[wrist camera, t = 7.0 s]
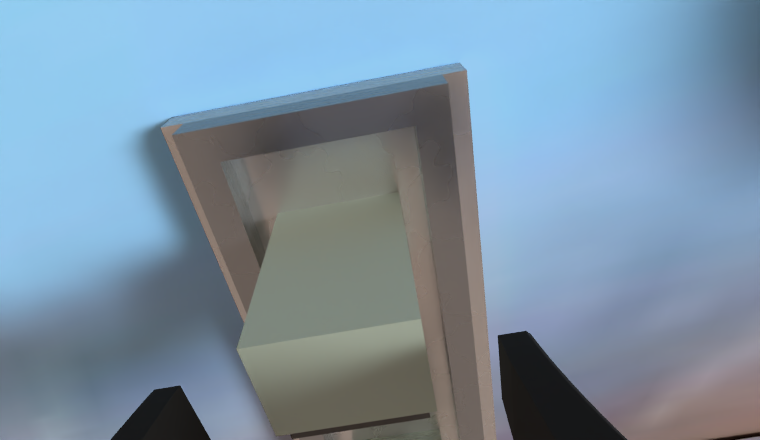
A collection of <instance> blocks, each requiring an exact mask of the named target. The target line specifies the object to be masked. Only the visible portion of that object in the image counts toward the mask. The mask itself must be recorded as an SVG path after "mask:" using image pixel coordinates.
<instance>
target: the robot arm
mask: <svg viewBox="0 0 760 440" xmlns="http://www.w3.org/2000/svg"><path fill="white" fill-rule="evenodd" d="M498 345H499V360H500V375H501V390H502V400H503V404H504V407H505V411H506V414H507V418H508V422H509V425H510V429H511V432H512V436H513V440H627V439H626V438H625V437H624V436H623V435H622V434H621V433H620V432H619V431H618V430H617V429H616V428H615V427H614V426H613V425H612V424H611V423H610V422H609V421H608V420H607V419H606V418H605V417H604V416H603V415H602V414H601V413H600V412H599V411H598V410H597V409H596V408H595V407H594V406H593V405H592V404H591V403H590V402H589V401H588V400H587V399H586V398H585V397H584V396H583V395H582V394H581V393H580V392H579V390H578V389H577V388H576V387H575V386H574V385H573V384H572V383H571V382H570V381H569V380H568V378H567V377H566V376H565V375H564V374H563V373H562V372H561V370H560V369H559V368H558V367H557V366H556V365H555V364H554V362H553V361H552V360H551V359H550V358H549V356H548V355H547V354H546V353H545V352H544V350H543V349H542V348H541V347H540V345H539V344H538V343H537V342H536V340H535V339H534V338H533V336H532V335H531V334H530V333H528V332H527V331H523V332H516V333H510V334H504V335H498ZM111 440H211V439H210V438H209V436H208V434H207V432H206V431H205V429H204V427H203V425H202V424H201V422H200V420H199V418H198V416H197V415H196V413H195V411H194V409H193V408H192V406H191V404H190V402H189V401H188V399H187V397H186V395H185V394H184V392H183V390H182V388H181V386H175V387H168V388H162V389H156V390H154V391H153V392H152V393H151V394H150V395H149V396H148V397H147V398H146V399H145V400H144V402H143V403H142V404H141V405H140V406H139V407H138V408H137V410H136V411H135V412H134V413H133V414H132V415H131V417H130V418H129V419H128V420H127V421H126V422H125V423H124V425H123V426H122V427H121V428H120V429H119V430H118V432H117V433H116V434H115V435H114V436H113V437H112V439H111ZM737 440H760V436H758V437H751V438H744V439H737Z"/></svg>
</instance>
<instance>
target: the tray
mask: <svg viewBox="0 0 760 440" xmlns="http://www.w3.org/2000/svg"><path fill="white" fill-rule="evenodd" d="M161 130H162V133H163V135H164V137H165V140H166V142H167V144H168V147H169V149H170V151H171V154H172V156H173V158H174V161H175V163H176V165H177V168H178V170H179V172H180V175H181V177H182V179H183V182H184V184H185V186H186V189H187V191H188V193H189V196H190V198H191V200H192V203H193V205H194V207H195V210H196V212H197V214H198V217H199V219H200V221H201V224H202V226H203V228H204V231H205V233H206V235H207V238H208V240H209V242H210V245H211V247H212V249H213V252H214V254H215V256H216V259H217V261H218V263H219V266H220V268H221V270H222V273H223V275H224V277H225V280H226V282H227V284H228V287H229V289H230V291H231V294H232V296H233V298H234V301H235V303H236V305H237V308H238V310H239V312H240V315H241V317H242V319H243V322H244V323H245V319H246V316H247V313H248V309H249V306H250V303H251V299H252V296H253V293H254V289H255V286H256V283H257V280H258V276H259V273H260V270H261V266H262V263H263V260H264V256H265V253H266V250H267V246H268V243H269V240H270V236H271V233H272V230H273V227H274V223H275V220H276V217H277V214H278V213H283V212H289V211H295V210H300V209H306V208H311V207H317V206H323V205H328V204H334V203H339V202H345V201H350V200H356V199H362V198H367V197H373V196H378V195H384V194H390V193H395V192H399V197H400V203H401V209H402V214H403V220H404V226H405V231H406V237H407V243H408V248H409V254H410V259H411V265H412V271H413V276H414V282H415V288H416V293H417V299H418V304H419V310H420V316H421V321H422V327H423V333H424V338H425V344H426V350H427V356H428V361H429V367H430V373H431V378H432V384H433V390H434V395H435V401H436V407H437V411H436V412H430V418H426V419H419V420H413V421H406V422H400V423H394V424H387V425H381V426H374V427H368V428H361V429H355V430H348V431H342V432H335V433H329V434H322V435H316V436H309V437H303V438H296V439H294V440H496V429H495V417H494V404H493V392H492V379H491V367H490V354H489V342H488V329H487V317H486V305H485V292H484V280H483V267H482V255H481V242H480V230H479V218H478V205H477V193H476V180H475V168H474V155H473V143H472V130H471V118H470V106H469V93H468V81H467V70H466V69H465V68H464V67H463V66H462V65H461V63H456V64H450V65H445V66H440V67H435V68H429V69H424V70H419V71H414V72H408V73H403V74H398V75H393V76H387V77H382V78H377V79H371V80H366V81H361V82H356V83H350V84H345V85H340V86H335V87H329V88H324V89H319V90H314V91H308V92H303V93H298V94H293V95H287V96H282V97H277V98H272V99H266V100H261V101H256V102H250V103H245V104H240V105H235V106H229V107H224V108H219V109H214V110H208V111H203V112H198V113H193V114H187V115H182V116H177V117H172V118H171V119H170V120H169V121H168V122H166V123H165V124H164V125H163V126H162V127H161Z"/></svg>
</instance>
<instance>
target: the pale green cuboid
mask: <svg viewBox="0 0 760 440" xmlns="http://www.w3.org/2000/svg"><path fill="white" fill-rule="evenodd" d="M237 352H238V354H239V356H240V358H241V360H242V362H243V365H244V367H245V369H246V371H247V373H248V376H249V378H250V380H251V382H252V384H253V386H254V389H255V391H256V393H257V395H258V397H259V400H260V402H261V404H262V406H263V408H264V410H265V413H266V415H267V417H268V419H269V421H270V424H271V426H272V428H273V430H274V432H275V434H276V436H282V435H288V434H290V435H291V437H292V439H296V438H303V437H309V436H316V435H322V434H329V433H335V432H342V431H348V430H355V429H361V428H368V427H374V426H381V425H387V424H394V423H400V422H406V421H413V420H419V419H426V418H430V412H436V411H437V407H436V401H435V395H434V390H433V384H432V378H431V373H430V367H429V361H428V356H427V350H426V344H425V338H424V333H423V327H422V321H421V316H420V310H419V304H418V299H417V293H416V288H415V282H414V276H413V271H412V265H411V259H410V254H409V248H408V243H407V237H406V231H405V226H404V220H403V214H402V209H401V203H400V197H399V192H395V193H390V194H384V195H378V196H373V197H367V198H362V199H356V200H350V201H345V202H339V203H334V204H328V205H323V206H317V207H311V208H306V209H300V210H295V211H289V212H283V213H278V214H277V217H276V220H275V223H274V227H273V230H272V233H271V236H270V240H269V243H268V246H267V250H266V253H265V256H264V260H263V263H262V266H261V270H260V273H259V276H258V280H257V283H256V286H255V289H254V293H253V296H252V299H251V303H250V306H249V309H248V313H247V316H246V319H245V323H244V326H243V329H242V332H241V336H240V339H239V342H238V346H237Z"/></svg>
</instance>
